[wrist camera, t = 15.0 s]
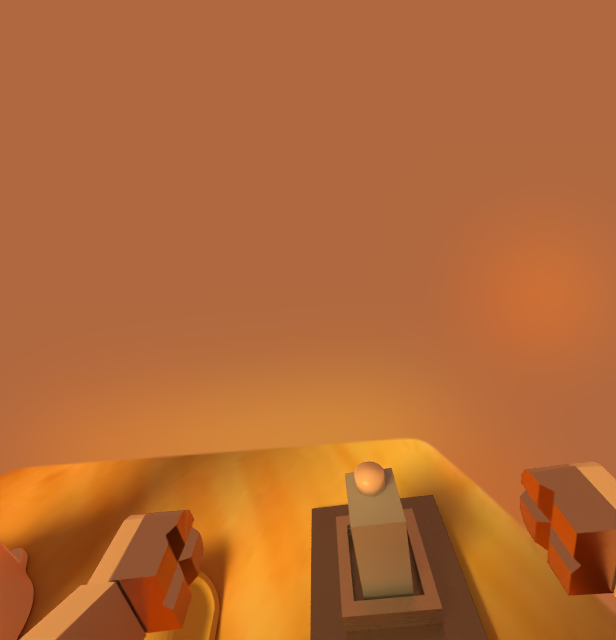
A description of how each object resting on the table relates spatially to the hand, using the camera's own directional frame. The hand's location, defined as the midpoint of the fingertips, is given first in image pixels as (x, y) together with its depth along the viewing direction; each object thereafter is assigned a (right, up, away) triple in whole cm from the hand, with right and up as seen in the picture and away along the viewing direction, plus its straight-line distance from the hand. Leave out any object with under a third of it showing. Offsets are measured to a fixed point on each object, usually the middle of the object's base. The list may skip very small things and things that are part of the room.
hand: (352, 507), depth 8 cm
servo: (+6, -18, +22) cm, 28 cm away
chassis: (+6, -19, +22) cm, 30 cm away
